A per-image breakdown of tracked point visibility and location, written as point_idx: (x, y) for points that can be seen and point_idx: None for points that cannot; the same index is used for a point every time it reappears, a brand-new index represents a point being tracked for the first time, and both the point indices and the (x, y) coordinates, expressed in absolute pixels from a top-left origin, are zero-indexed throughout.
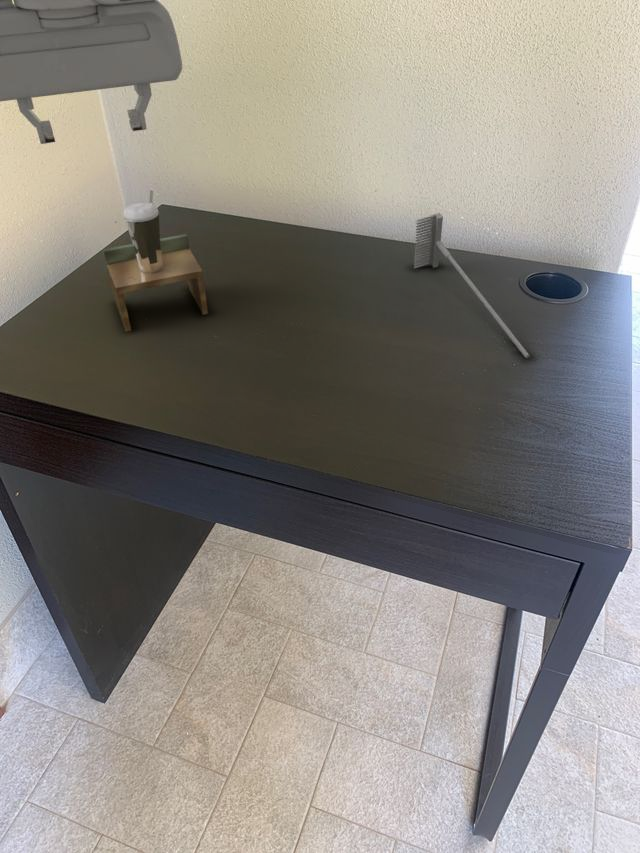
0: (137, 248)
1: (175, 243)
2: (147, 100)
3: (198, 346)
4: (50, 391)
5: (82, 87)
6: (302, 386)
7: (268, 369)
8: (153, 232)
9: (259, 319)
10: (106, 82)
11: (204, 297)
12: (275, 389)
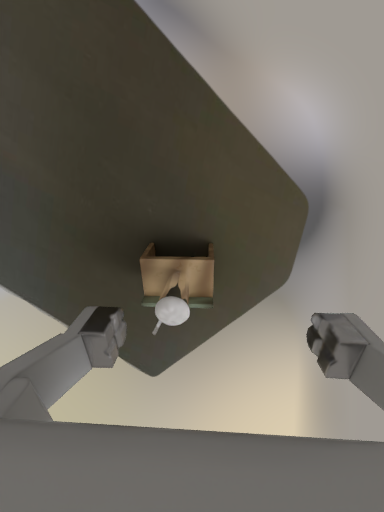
0: (186, 286)
1: (153, 300)
2: (21, 360)
3: (165, 202)
4: (283, 188)
5: (241, 453)
6: (92, 107)
7: (117, 146)
8: (167, 290)
9: (113, 220)
10: (103, 458)
11: (147, 248)
12: (115, 113)
